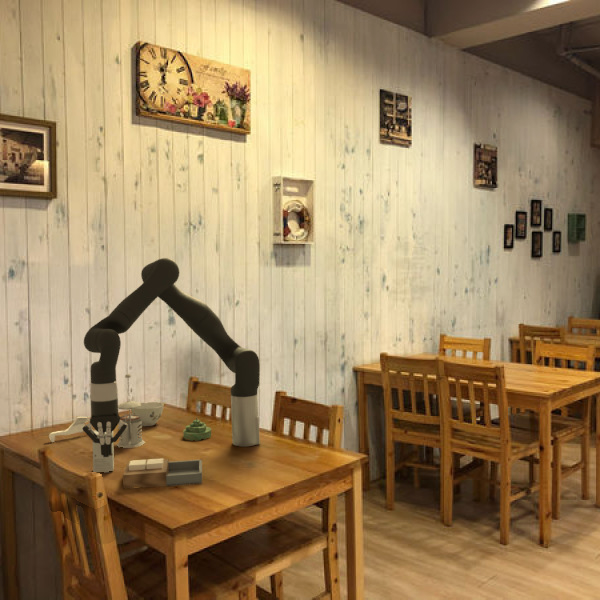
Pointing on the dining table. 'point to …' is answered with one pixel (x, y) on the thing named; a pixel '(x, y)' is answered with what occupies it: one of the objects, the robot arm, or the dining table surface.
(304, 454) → the dining table surface
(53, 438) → the white clothes hanger
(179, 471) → the tray
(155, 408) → the teacup
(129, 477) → the board
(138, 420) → the french press
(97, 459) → the skincare box
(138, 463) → the tile
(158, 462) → the tile
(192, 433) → the decorative artifact
